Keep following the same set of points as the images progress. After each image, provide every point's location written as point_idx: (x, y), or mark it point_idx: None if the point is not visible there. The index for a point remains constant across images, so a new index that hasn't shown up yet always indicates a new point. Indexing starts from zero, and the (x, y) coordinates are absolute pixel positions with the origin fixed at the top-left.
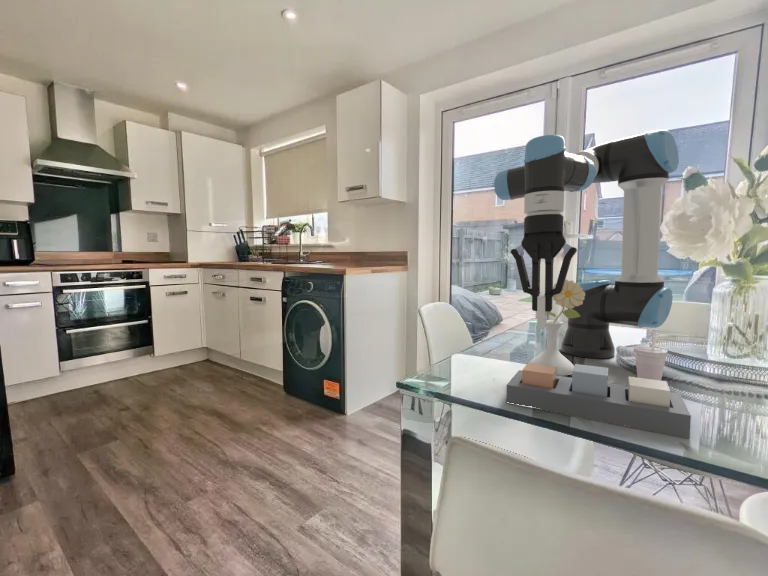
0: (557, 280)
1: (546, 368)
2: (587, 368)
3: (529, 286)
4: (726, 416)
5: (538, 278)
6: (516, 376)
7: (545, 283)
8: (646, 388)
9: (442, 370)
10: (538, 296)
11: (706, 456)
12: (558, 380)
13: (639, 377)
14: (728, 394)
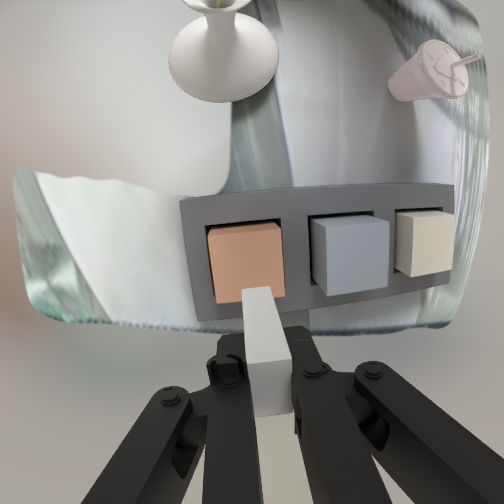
0: (382, 464)
1: (261, 259)
2: (353, 254)
3: (183, 423)
4: (469, 164)
5: (262, 493)
6: (192, 256)
7: (307, 467)
8: (428, 273)
9: (31, 202)
10: (255, 405)
11: (432, 309)
12: (278, 217)
13: (402, 89)
14: (467, 68)
